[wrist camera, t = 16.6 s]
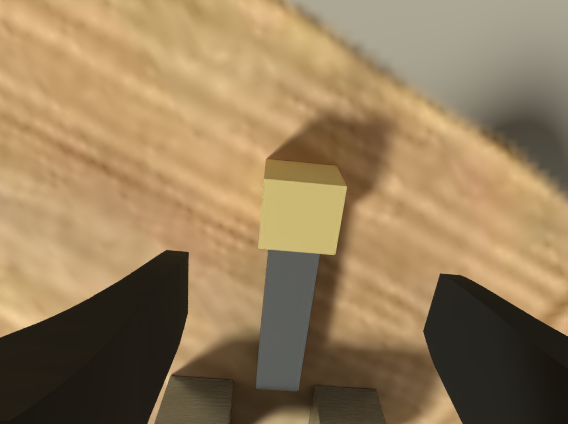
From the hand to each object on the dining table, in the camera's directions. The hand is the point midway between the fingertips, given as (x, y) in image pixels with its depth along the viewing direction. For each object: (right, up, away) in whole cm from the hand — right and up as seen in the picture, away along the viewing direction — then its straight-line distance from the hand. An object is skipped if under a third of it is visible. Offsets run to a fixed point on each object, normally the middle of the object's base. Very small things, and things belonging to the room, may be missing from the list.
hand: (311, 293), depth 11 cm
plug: (-1, -1, +9) cm, 9 cm away
